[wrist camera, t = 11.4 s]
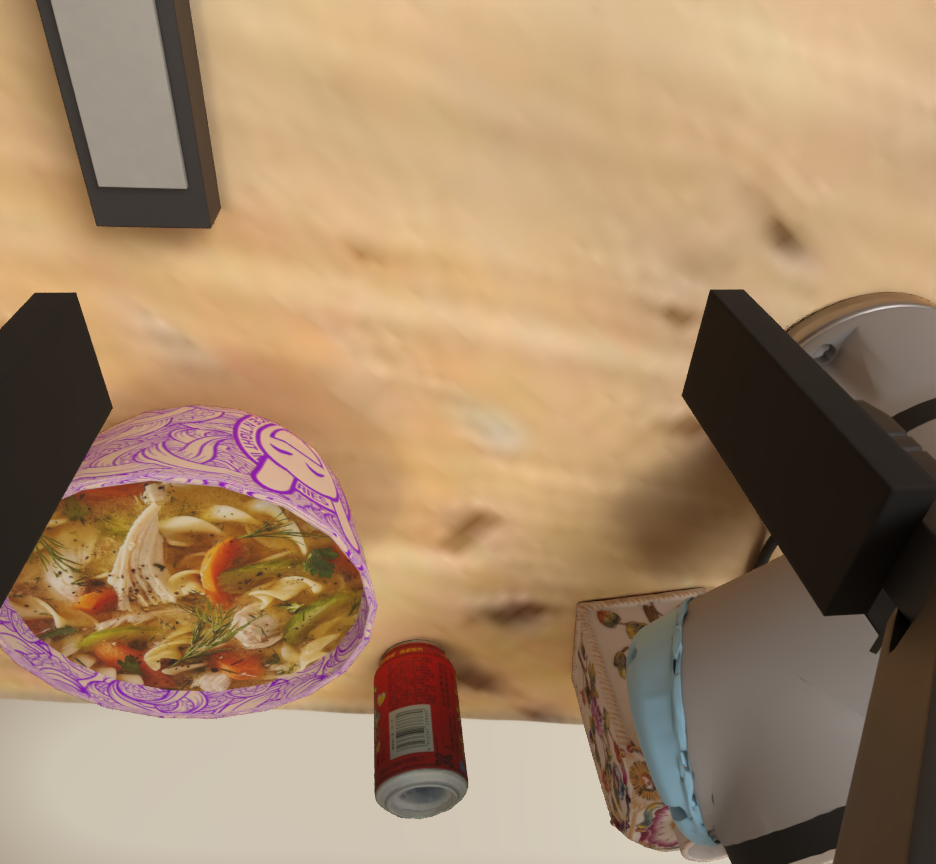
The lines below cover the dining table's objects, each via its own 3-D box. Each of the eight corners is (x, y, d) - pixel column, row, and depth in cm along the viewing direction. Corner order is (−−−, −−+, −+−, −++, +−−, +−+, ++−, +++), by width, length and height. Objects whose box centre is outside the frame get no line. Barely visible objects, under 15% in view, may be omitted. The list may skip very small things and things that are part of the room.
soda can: (358, 652, 59) (357, 799, 49) (433, 625, 58) (448, 769, 48) (394, 691, 63) (400, 833, 53) (465, 667, 62) (484, 807, 52)
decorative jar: (688, 662, 66) (776, 870, 52) (569, 678, 65) (625, 893, 51) (709, 581, 58) (818, 797, 44) (575, 598, 58) (643, 823, 44)
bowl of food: (373, 343, 41) (376, 468, 32) (376, 570, 53) (378, 708, 44) (10, 341, 38) (-102, 478, 29) (100, 581, 50) (41, 731, 41)
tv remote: (221, 208, 35) (209, 232, 32) (113, 206, 34) (93, 230, 32) (149, -257, 25) (124, -276, 22) (-6, -274, 24) (-50, -295, 22)
